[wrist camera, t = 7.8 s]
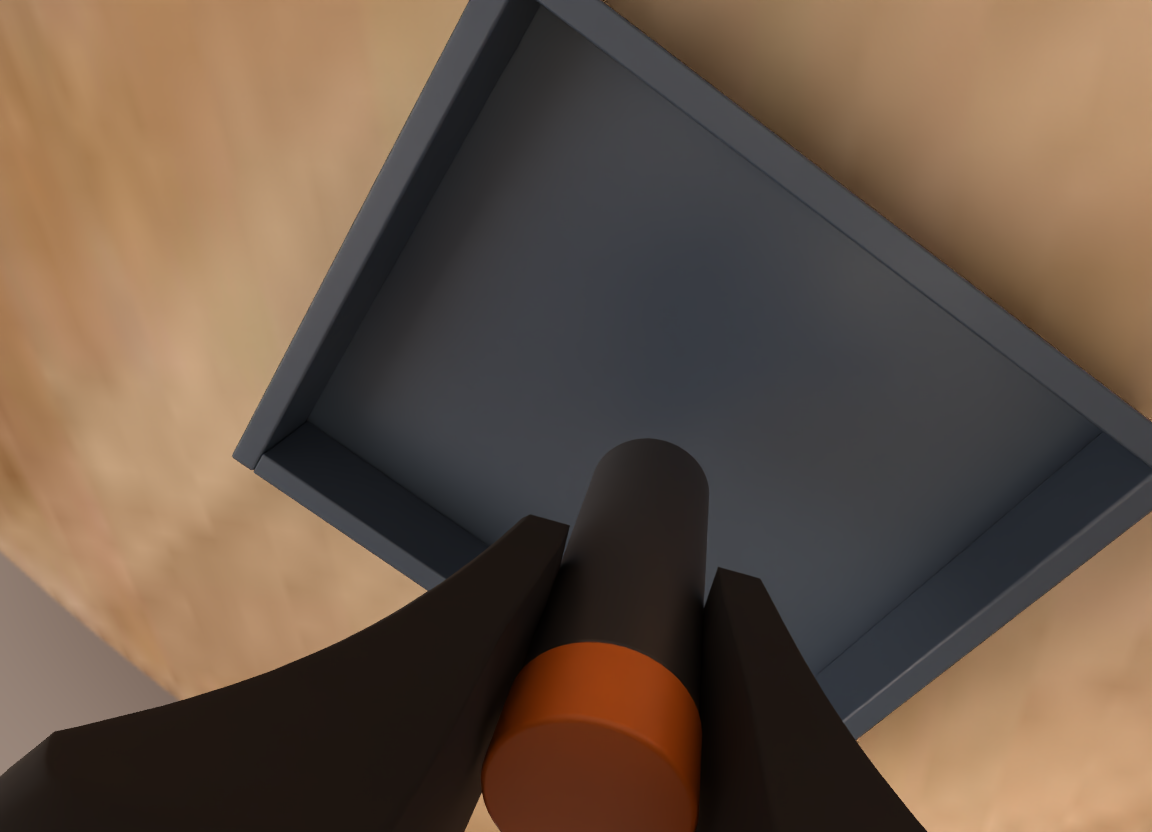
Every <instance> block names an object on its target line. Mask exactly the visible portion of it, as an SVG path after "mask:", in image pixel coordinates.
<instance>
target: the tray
mask: <svg viewBox="0 0 1152 832" xmlns="http://www.w3.org/2000/svg"><path fill="white" fill-rule="evenodd" d="M642 438H651V439H659V440H664V441H667V442H670V443H673V444H675V445H677V446H679V447H680V448H682V449H684V450H685V451H687V452H688V453H689V454H690V455H691V456H692V457H693V458H694V459H695V460H696V461H697V462H698V463H699V465H700V466H701V468H702V469H703V471H704V473H705V475H706V478H707V481H708V486H709V511H708V532H707V552H706V573H705V593H704V606H705V603H706V600H707V597H708V595H709V592H710V589H711V586H712V583H713V580H714V577H715V574H716V571H717V568H718V567H721V568H725V569H728V570H732V571H735V572H739V573H743V574H746V575H750V576H753V577H757V578H760V579H761V581H762V582H763V584H764V586H765V588H766V590H767V592H768V593H769V595H770V597H771V599H772V601H773V603H774V605H775V607H776V608H777V610H778V612H779V614H780V616H781V618H782V620H783V622H784V624H785V626H786V627H787V629H788V631H789V633H790V635H791V637H792V638H793V640H794V642H795V644H796V646H797V648H798V649H799V651H800V653H801V655H802V656H803V658H804V660H805V662H806V663H807V665H808V667H809V668H810V670H811V672H812V673H813V675H814V677H815V679H816V680H817V682H818V684H819V685H820V687H821V689H822V690H823V692H824V694H825V695H826V697H827V698H828V700H829V701H830V703H831V705H832V706H833V708H834V709H835V711H836V712H837V714H838V715H839V717H840V718H841V719H842V721H843V722H844V724H845V725H846V727H847V728H848V730H849V731H850V733H851V734H852V736H853V737H854V739H855V740H857V739H858V738H859V737H861V736H862V735H863V734H864V733H866V732H867V731H868V730H870V729H871V728H872V727H874V726H875V725H876V724H877V723H879V722H880V721H881V720H883V719H884V718H885V717H886V716H888V715H889V714H890V713H892V712H893V711H894V710H895V709H897V708H898V707H899V706H901V705H902V704H903V703H905V702H906V701H907V700H908V699H910V698H911V697H912V696H914V695H915V694H916V693H917V692H919V691H920V690H921V689H923V688H924V687H925V686H926V685H928V684H929V683H930V682H932V681H933V680H934V679H936V678H937V677H938V676H939V675H941V674H942V673H943V672H945V671H946V670H947V669H948V668H950V667H951V666H952V665H954V664H955V663H956V662H957V661H959V660H960V659H961V658H963V657H964V656H965V655H967V654H968V653H969V652H970V651H972V650H973V649H974V648H976V647H977V646H978V645H979V644H981V643H982V642H983V641H985V640H986V639H987V638H988V637H990V636H991V635H992V634H994V633H995V632H996V631H998V630H999V629H1000V628H1001V627H1003V626H1004V625H1005V624H1007V623H1008V622H1009V621H1010V620H1012V619H1013V618H1014V617H1016V616H1017V615H1018V614H1019V613H1021V612H1022V611H1023V610H1025V609H1026V608H1027V607H1029V606H1030V605H1031V604H1032V603H1034V602H1035V601H1036V600H1038V599H1039V598H1040V597H1041V596H1043V595H1044V594H1045V593H1047V592H1048V591H1049V590H1050V589H1052V588H1053V587H1054V586H1056V585H1057V584H1058V583H1060V582H1061V581H1062V580H1063V579H1065V578H1066V577H1067V576H1069V575H1070V574H1071V573H1072V572H1074V571H1075V570H1076V569H1078V568H1079V567H1080V566H1081V565H1083V564H1084V563H1085V562H1087V561H1088V560H1089V559H1091V558H1092V557H1093V556H1094V555H1096V554H1097V553H1098V552H1100V551H1101V550H1102V549H1103V548H1105V547H1106V546H1107V545H1109V544H1110V543H1111V542H1112V541H1114V540H1115V539H1116V538H1118V537H1119V536H1120V535H1122V534H1123V533H1124V532H1125V531H1127V530H1128V529H1129V528H1131V527H1132V526H1133V525H1134V524H1136V523H1137V522H1138V521H1140V520H1141V519H1142V518H1143V517H1145V516H1146V515H1147V514H1149V513H1150V512H1151V511H1152V422H1151V421H1150V420H1149V419H1147V418H1146V417H1145V416H1143V415H1142V414H1141V413H1139V412H1138V411H1137V410H1135V409H1134V408H1133V407H1132V406H1130V405H1129V404H1128V403H1126V402H1125V401H1124V400H1122V399H1121V398H1120V397H1119V396H1117V395H1116V394H1115V393H1113V392H1112V391H1111V390H1109V389H1108V388H1107V387H1105V386H1104V385H1103V384H1102V383H1100V382H1099V381H1098V380H1096V379H1095V378H1094V377H1092V376H1091V375H1090V374H1088V373H1087V372H1086V371H1085V370H1083V369H1082V368H1081V367H1079V366H1078V365H1077V364H1075V363H1074V362H1073V361H1072V360H1070V359H1069V358H1068V357H1066V356H1065V355H1064V354H1062V353H1061V352H1060V351H1058V350H1057V349H1056V348H1055V347H1053V346H1052V345H1051V344H1049V343H1048V342H1047V341H1045V340H1044V339H1043V338H1041V337H1040V336H1039V335H1038V334H1036V333H1035V332H1034V331H1032V330H1031V329H1030V328H1028V327H1027V326H1026V325H1025V324H1023V323H1022V322H1021V321H1019V320H1018V319H1017V318H1015V317H1014V316H1013V315H1011V314H1010V313H1009V312H1008V311H1006V310H1005V309H1004V308H1002V307H1001V306H1000V305H998V304H997V303H996V302H994V301H993V300H992V299H991V298H989V297H988V296H987V295H985V294H984V293H983V292H981V291H980V290H979V289H977V288H976V287H975V286H974V285H972V284H971V283H970V282H968V281H967V280H966V279H964V278H963V277H962V276H961V275H959V274H958V273H957V272H955V271H954V270H953V269H951V268H950V267H949V266H947V265H946V264H945V263H944V262H942V261H941V260H940V259H938V258H937V257H936V256H934V255H933V254H932V253H930V252H929V251H928V250H927V249H925V248H924V247H923V246H921V245H920V244H919V243H917V242H916V241H915V240H914V239H912V238H911V237H910V236H908V235H907V234H906V233H904V232H903V231H902V230H900V229H899V228H898V227H897V226H895V225H894V224H893V223H891V222H890V221H889V220H887V219H886V218H885V217H883V216H882V215H881V214H880V213H878V212H877V211H876V210H874V209H873V208H872V207H870V206H869V205H868V204H867V203H865V202H864V201H863V200H861V199H860V198H859V197H857V196H856V195H855V194H853V193H852V192H851V191H850V190H848V189H847V188H846V187H844V186H843V185H842V184H840V183H839V182H838V181H836V180H835V179H834V178H833V177H831V176H830V175H829V174H827V173H826V172H825V171H823V170H822V169H821V168H819V167H818V166H817V165H816V164H814V163H813V162H812V161H810V160H809V159H808V158H806V157H805V156H804V155H803V154H801V153H800V152H799V151H797V150H796V149H795V148H793V147H792V146H791V145H789V144H788V143H787V142H786V141H784V140H783V139H782V138H780V137H779V136H778V135H776V134H775V133H774V132H772V131H771V130H770V129H769V128H767V127H766V126H765V125H763V124H762V123H761V122H759V121H758V120H757V119H756V118H754V117H753V116H752V115H750V114H749V113H748V112H746V111H745V110H744V109H742V108H741V107H740V106H739V105H737V104H736V103H735V102H733V101H732V100H731V99H729V98H728V97H727V96H725V95H724V94H723V93H722V92H720V91H719V90H718V89H716V88H715V87H714V86H712V85H711V84H710V83H709V82H707V81H706V80H705V79H703V78H702V77H701V76H699V75H698V74H697V73H695V72H694V71H693V70H692V69H690V68H689V67H688V66H686V65H685V64H684V63H682V62H681V61H680V60H678V59H677V58H676V57H675V56H673V55H672V54H671V53H669V52H668V51H667V50H665V49H664V48H663V47H661V46H660V45H659V44H658V43H656V42H655V41H654V40H652V39H651V38H650V37H648V36H647V35H646V34H645V33H643V32H642V31H641V30H639V29H638V28H637V27H635V26H634V25H633V24H631V23H630V22H629V21H628V20H626V19H625V18H624V17H622V16H621V15H620V14H618V13H617V12H616V11H614V10H613V9H612V8H611V7H609V6H608V5H607V4H605V3H604V2H603V1H601V0H469V2H468V4H467V6H466V8H465V10H464V11H463V13H462V15H461V17H460V19H459V21H458V23H457V25H456V27H455V29H454V31H453V33H452V35H451V36H450V38H449V40H448V42H447V44H446V46H445V48H444V50H443V52H442V54H441V56H440V58H439V59H438V61H437V63H436V65H435V67H434V69H433V71H432V73H431V75H430V77H429V79H428V81H427V82H426V84H425V86H424V88H423V90H422V92H421V94H420V96H419V98H418V100H417V102H416V104H415V105H414V107H413V109H412V111H411V113H410V115H409V117H408V119H407V121H406V123H405V125H404V127H403V129H402V130H401V132H400V134H399V136H398V138H397V140H396V142H395V144H394V146H393V148H392V150H391V152H390V153H389V155H388V157H387V159H386V161H385V163H384V165H383V167H382V169H381V171H380V173H379V175H378V176H377V178H376V180H375V182H374V184H373V186H372V188H371V190H370V192H369V194H368V196H367V198H366V200H365V201H364V203H363V205H362V207H361V209H360V211H359V213H358V215H357V217H356V219H355V221H354V223H353V224H352V226H351V228H350V230H349V232H348V234H347V236H346V238H345V240H344V242H343V244H342V246H341V247H340V249H339V251H338V253H337V255H336V257H335V259H334V261H333V263H332V265H331V267H330V269H329V270H328V272H327V274H326V276H325V278H324V280H323V282H322V284H321V286H320V288H319V290H318V292H317V294H316V295H315V297H314V299H313V301H312V303H311V305H310V307H309V309H308V311H307V313H306V315H305V317H304V318H303V320H302V322H301V324H300V326H299V328H298V330H297V332H296V334H295V336H294V338H293V340H292V341H291V343H290V345H289V347H288V349H287V351H286V353H285V355H284V357H283V359H282V361H281V363H280V365H279V366H278V368H277V370H276V372H275V374H274V376H273V378H272V380H271V382H270V384H269V386H268V388H267V389H266V391H265V393H264V395H263V397H262V399H261V401H260V403H259V405H258V407H257V409H256V411H255V412H254V414H253V416H252V418H251V420H250V422H249V424H248V426H247V428H246V430H245V432H244V434H243V435H242V437H241V439H240V441H239V443H238V445H237V447H236V449H235V451H234V453H233V455H232V457H233V458H234V459H235V460H237V461H238V462H240V463H241V464H243V465H244V466H246V467H247V468H249V469H250V470H254V473H255V474H257V475H258V476H260V477H261V478H263V479H264V480H266V481H267V482H269V483H270V484H272V485H273V486H274V487H276V488H277V489H279V490H280V491H282V492H283V493H285V494H286V495H288V496H289V497H291V498H292V499H294V500H295V501H297V502H298V503H299V504H301V505H302V506H304V507H305V508H307V509H308V510H310V511H311V512H313V513H314V514H316V515H317V516H319V517H320V518H322V519H323V520H325V521H326V522H327V523H329V524H330V525H332V526H333V527H335V528H336V529H338V530H339V531H341V532H342V533H344V534H345V535H347V536H348V537H350V538H351V539H352V540H354V541H355V542H357V543H358V544H360V545H361V546H363V547H364V548H366V549H367V550H369V551H370V552H372V553H373V554H375V555H376V556H378V557H379V558H380V559H382V560H383V561H385V562H386V563H388V564H389V565H391V566H392V567H394V568H395V569H397V570H398V571H400V572H401V573H403V574H404V575H405V576H407V577H408V578H410V579H411V580H413V581H414V582H416V583H417V584H419V585H420V586H422V587H423V588H425V589H426V590H428V591H429V590H431V589H432V588H434V587H435V586H437V585H438V584H440V583H441V582H443V581H444V580H446V579H447V578H449V577H450V576H451V575H453V574H454V573H455V572H457V571H458V570H459V569H461V568H462V567H463V566H465V565H466V564H468V563H469V562H470V561H472V560H473V559H474V558H476V557H477V556H478V555H480V554H481V553H482V552H483V551H485V550H486V549H487V548H488V547H489V546H491V545H492V544H493V543H494V542H496V541H497V540H498V539H499V538H500V537H502V536H503V535H504V534H505V533H506V532H507V531H508V530H509V529H511V528H512V527H513V526H514V525H515V524H516V523H517V522H518V521H519V520H520V519H521V518H523V517H525V516H527V515H529V514H531V515H535V516H538V517H542V518H546V519H549V520H553V521H556V522H560V523H564V524H567V525H570V527H569V531H568V536H567V540H566V544H565V548H564V553H565V550H566V547H567V545H568V542H569V539H570V537H571V534H572V531H573V528H574V526H575V523H576V520H577V517H578V515H579V512H580V509H581V506H582V504H583V501H584V498H585V496H586V493H587V490H588V487H589V485H590V482H591V479H592V476H593V474H594V471H595V469H596V467H597V465H598V463H599V462H600V460H601V459H602V458H603V457H604V456H605V454H606V453H608V452H609V451H610V450H611V449H613V448H614V447H616V446H618V445H620V444H622V443H624V442H627V441H630V440H635V439H642ZM564 553H563V556H564ZM562 558H563V557H562Z"/></svg>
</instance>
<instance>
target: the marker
mask: <svg viewBox="0 0 1152 832" xmlns="http://www.w3.org/2000/svg"><path fill="white" fill-rule="evenodd" d="M708 511H709V486H708V481H707V478H706V475H705V473H704V471H703V469H702V468H701V466H700V465H699V463H698V462H697V461H696V460H695V459H694V458H693V457H692V456H691V455H690V454H689V453H688V452H687V451H685V450H684V449H682V448H680V447H679V446H677V445H675V444H673V443H670V442H667V441H664V440H659V439H651V438H642V439H635V440H630V441H627V442H624V443H622V444H620V445H618V446H616V447H614V448H613V449H611V450H610V451H609V452H608V453H606V454H605V456H604V457H603V458H602V459H601V460H600V462H599V463H598V465H597V467H596V469H595V471H594V474H593V476H592V479H591V482H590V485H589V487H588V490H587V493H586V496H585V498H584V501H583V504H582V506H581V509H580V512H579V515H578V517H577V520H576V523H575V526H574V528H573V531H572V534H571V537H570V539H569V542H568V545H567V547H566V550H565V553H564V556H563V558H562V561H561V565H560V569H559V572H558V575H557V577H556V580H555V583H554V586H553V588H552V591H551V594H550V597H549V599H548V602H547V605H546V608H545V610H544V613H543V615H542V618H541V620H540V622H539V625H538V627H537V630H536V632H535V635H534V638H533V640H532V643H531V646H530V649H529V651H528V654H527V657H526V660H525V662H524V665H523V668H522V670H521V671H520V672H519V674H518V675H517V676H516V678H515V680H514V682H513V684H512V686H511V688H510V691H509V693H508V696H507V699H506V701H505V704H504V707H503V710H502V712H501V715H500V718H499V720H498V723H497V726H496V728H495V731H494V734H493V736H492V739H491V742H490V744H489V747H488V750H487V752H486V755H485V758H484V761H483V764H482V770H481V789H482V794H483V799H484V803H485V805H486V808H487V810H488V813H489V814H490V816H491V818H492V820H493V822H494V823H495V824H496V826H497V827H498V829H499V830H500V831H501V832H695V831H696V827H697V824H698V816H699V797H700V773H701V749H702V725H701V720H700V716H699V696H700V675H701V655H702V634H703V614H704V593H705V573H706V552H707V532H708Z"/></svg>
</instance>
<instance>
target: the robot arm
mask: <svg viewBox="0 0 1152 832" xmlns="http://www.w3.org/2000/svg"><path fill="white" fill-rule="evenodd" d="M569 527H570V525H567V524H564V523H560V522H556V521H553V520H549V519H546V518H542V517H538V516H535V515H531V514H529V515H527V516H525V517H523V518H521V519H520V520H519V521H518V522H517V523H516V524H515V525H514V526H513V527H512V528H511V529H509V530H508V531H507V532H506V533H505V534H504V535H503V536H502V537H500V538H499V539H498V540H497V541H496V542H494V543H493V544H492V545H491V546H489V547H488V548H487V549H486V550H485V551H483V552H482V553H481V554H480V555H478V556H477V557H476V558H474V559H473V560H472V561H470V562H469V563H468V564H466V565H465V566H463V567H462V568H461V569H459V570H458V571H457V572H455V573H454V574H453V575H451V576H450V577H449V578H447V579H446V580H444V581H443V582H441V583H440V584H438V585H437V586H435V587H434V588H432V589H431V590H429V591H428V592H426V593H424V594H423V595H421V596H420V597H418V598H417V599H415V600H414V601H412V602H411V603H409V604H407V605H406V606H404V607H403V608H401V609H399V610H398V611H396V612H394V613H392V614H391V615H389V616H387V617H386V618H384V619H382V620H380V621H378V622H377V623H375V624H373V625H371V626H369V627H367V628H365V629H364V630H362V631H360V632H358V633H356V634H354V635H352V636H350V637H348V638H346V639H344V640H342V641H340V642H338V643H336V644H333V645H331V646H329V647H327V648H325V649H322V650H320V651H318V652H316V653H313V654H311V655H308V656H306V657H304V658H301V659H299V660H296V661H294V662H292V663H289V664H287V665H284V666H282V667H280V668H277V669H275V670H272V671H270V672H267V673H264V674H262V675H259V676H256V677H253V678H250V679H247V680H244V681H241V682H239V683H236V684H233V685H230V686H227V687H224V688H220V689H217V690H214V691H211V692H208V693H204V694H201V695H198V696H195V697H192V698H188V699H185V700H181V701H178V702H174V703H171V704H168V705H164V706H161V707H156V708H152V709H148V710H144V711H140V712H136V713H132V714H128V715H124V716H119V717H116V718H111V719H107V720H103V721H100V722H95V723H91V724H87V725H83V726H79V727H74V728H70V729H65V730H60V731H55V732H54V733H52V734H51V735H50V736H49V737H47V738H46V739H45V740H44V741H43V742H41V743H40V744H39V745H38V746H36V747H35V748H34V749H33V750H31V751H30V752H29V753H28V754H27V755H25V756H24V757H23V758H22V759H20V760H19V761H18V762H17V763H15V764H14V765H13V766H12V767H10V768H9V769H8V770H7V771H6V772H5V773H4V774H3V775H2V776H0V832H464V831H465V829H466V826H467V824H468V822H469V820H470V817H471V815H472V813H473V811H474V809H475V806H476V804H477V802H478V800H479V797H480V795H481V793H482V789H481V770H482V764H483V761H484V758H485V755H486V752H487V750H488V747H489V744H490V742H491V739H492V736H493V734H494V731H495V728H496V726H497V723H498V720H499V718H500V715H501V712H502V710H503V707H504V704H505V701H506V699H507V696H508V693H509V691H510V688H511V686H512V684H513V682H514V680H515V678H516V676H517V675H518V674H519V672H520V671H521V670H522V668H523V665H524V662H525V660H526V657H527V654H528V651H529V649H530V646H531V643H532V640H533V638H534V635H535V632H536V630H537V627H538V625H539V622H540V620H541V618H542V615H543V613H544V610H545V608H546V605H547V602H548V599H549V597H550V594H551V591H552V588H553V586H554V583H555V580H556V577H557V575H558V572H559V569H560V565H561V561H562V557H563V553H564V548H565V544H566V540H567V536H568V531H569ZM699 716H700V720H701V725H702V749H701V773H700V797H699V816H698V824H697V827H696V831H695V832H927V831H926V830H925V828H924V827H923V826H922V825H921V824H920V823H919V821H918V820H917V819H916V818H915V817H914V815H913V814H912V813H911V812H910V811H909V809H908V808H907V807H906V806H905V804H904V803H903V802H902V800H901V799H900V798H899V797H898V795H897V794H896V793H895V792H894V790H893V789H892V788H891V787H890V785H889V784H888V783H887V782H886V780H885V779H884V778H883V777H882V775H881V774H880V773H879V772H878V770H877V769H876V768H875V766H874V765H873V764H872V762H871V761H870V760H869V758H868V757H867V755H866V754H865V753H864V751H863V750H862V749H861V747H860V746H859V744H858V743H857V742H856V740H855V739H854V737H853V736H852V734H851V733H850V731H849V730H848V728H847V727H846V725H845V724H844V722H843V721H842V719H841V718H840V717H839V715H838V714H837V712H836V711H835V709H834V708H833V706H832V705H831V703H830V701H829V700H828V698H827V697H826V695H825V694H824V692H823V690H822V689H821V687H820V685H819V684H818V682H817V680H816V679H815V677H814V675H813V673H812V672H811V670H810V668H809V667H808V665H807V663H806V662H805V660H804V658H803V656H802V655H801V653H800V651H799V649H798V648H797V646H796V644H795V642H794V640H793V638H792V637H791V635H790V633H789V631H788V629H787V627H786V626H785V624H784V622H783V620H782V618H781V616H780V614H779V612H778V610H777V608H776V607H775V605H774V603H773V601H772V599H771V597H770V595H769V593H768V592H767V590H766V588H765V586H764V584H763V582H762V581H761V579H760V578H757V577H753V576H750V575H746V574H743V573H739V572H735V571H732V570H728V569H725V568H721V567H718V568H717V571H716V574H715V577H714V580H713V583H712V586H711V589H710V592H709V595H708V597H707V600H706V603H705V606H704V614H703V634H702V655H701V675H700V696H699Z"/></svg>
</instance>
